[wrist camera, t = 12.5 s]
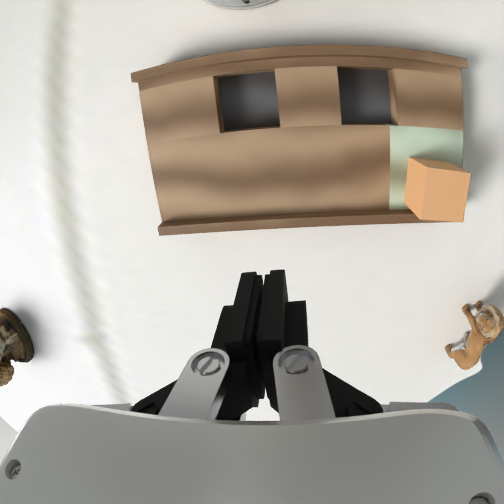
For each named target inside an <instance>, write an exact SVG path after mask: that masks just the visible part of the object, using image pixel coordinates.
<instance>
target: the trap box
mask: <svg viewBox="0 0 504 504" xmlns="http://www.w3.org/2000/svg"><path fill="white" fill-rule="evenodd" d="M461 68H467V59H466V58H461V57H456V56H451V55H445V54H439V53H433V52H427V51H420V50H412V49H403V48H393V47H381V46H365V45H296V46H280V47H267V48H257V49H248V50H240V51H232V52H226V53H219V54H213V55H207V56H201V57H196V58H191V59H186V60H181V61H177V62H172V63H168V64H164V65H160V66H156V67H152V68H148V69H144V70H140V71H137V72H133V73H131V79H132V82H138V84H139V92H140V100H141V107H142V114H143V121H144V127H145V133H146V140H147V146H148V151H149V157H150V163H151V168H152V174H153V179H154V184H155V189H156V194H157V199H158V204H159V209H160V214H161V218H162V223H161V224H160V225H159V226H158V232H159V236H162V235H177V234H192V233H207V232H223V231H240V230H258V229H277V228H297V227H318V226H342V225H367V224H397V223H433V222H449V221H435V220H420V219H419V218H418V217H417V216H416V215H415V214H414V213H413V212H412V211H411V210H410V209H409V208H408V207H407V206H406V205H405V204H404V195H405V187H406V178H407V168H408V157H413V158H422V159H430V160H437V161H444V162H449V163H451V164H453V165H455V166H457V167H459V168H461V169H462V162H463V93H462V77H461ZM463 220H464V217H463Z"/></svg>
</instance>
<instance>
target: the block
mask: <svg viewBox="0 0 504 504" xmlns="http://www.w3.org/2000/svg"><path fill="white" fill-rule="evenodd" d="M470 176H471V173H469V172H467V171H465V170H463V169H461V168H459V167H457V166H455V165H453V164H451V163H449V162H444V161H437V160H430V159H422V158H413V157H408V168H407V178H406V187H405V195H404V204H405V205H406V206H407V207H408V208H409V209H410V210H411V211H412V212H413V213H414V214H415V215H416V216H417V217H418V218H419V219H420V220H435V221H449V222H463V217H464V212H465V207H466V201H467V195H468V189H469V183H470Z"/></svg>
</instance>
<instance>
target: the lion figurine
mask: <svg viewBox="0 0 504 504" xmlns="http://www.w3.org/2000/svg"><path fill="white" fill-rule="evenodd" d="M481 307H482V302H481V301H479V302H477V303H476V309H477V313H476V316H475V317H474V316H473V315H472V313H471V311H470V309H469V306H468V305H465V306H464V307H462V310H463V312H464V314H465V315H466V316H467V318H468V320H469V323H470V325H471V327H472V330H471V332H467V333H465V335H464V348H465V350H455V351H452V352H451V349H452V346H451V345H447V346H446V348H445V350H446V352H447V354H448V356H449V357H450V358H454V359H455V361H456V363H457V364H458V366H459V367H460V368H462V369H464V370H467V369H470V368H471V367H473V366H474V365H475V364H476V363H477V362H478V361H479V358H480V356H481V353H482V351H483V349H484V347H485V345H486V344H490V343H492V342H493V341H494V339H496V338H498V336H499V335H500V334H501V332H502V330H503V329H504V317H503V315H502V313H501V311H500V310H498V309H497V308H496V307H495V306H493V305H490V304H489V305H487V306H485V307H484V308H481Z"/></svg>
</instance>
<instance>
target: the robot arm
mask: <svg viewBox="0 0 504 504" xmlns="http://www.w3.org/2000/svg"><path fill="white" fill-rule="evenodd" d="M204 1H206V2H208V3H209V4H212V5H215V6H217V7H222V8H227V9H239V10H240V9H251V8H256V7H260V6H264V5H266V4H269V3H271V2H274V1H275V0H204ZM246 1H249V2H250V3H248V4H246V3H245V2H246ZM265 387H266V392H267V397H268V399H269V400H270V405H271V407H272V408H273V409H274V410H276V411H277V412H278V413H279V416H280V421H245V420H246V411H248V410H249V409H251V408H252V407H258V404H259V399H264V395H265ZM0 504H504V462H503V459H502V457H501V454H500V452H499V449H498V446H497V444H496V442H495V440H494V438H493V436H492V434H491V432H490V431H489V429H488V428H487V427H486V425H485V424H484V423H483V422H482V421H481V420H479V419H478V418H476V417H475V416H472V415H470V414H467V413H464V412H459V411H458V410H457V408H456V407H455V406H453V405H451V404H449V403H443V402H439V403H416V402H390V403H389V405H382V404H379V403H378V402H377V401H376V400H375V399H373V398H372V397H370V396H368V395H366V394H365V393H363V392H361V391H359V390H358V389H356V388H354V387H353V386H351V385H349V384H348V383H346V382H344V381H343V380H341V379H339V378H338V377H336V376H334V375H333V374H331V373H329V372H328V371H326V370H325V369H323V368H322V366H321V362H320V359H319V356H318V354H317V352H316V351H314V350H313V349H312V348H310V347H308V328H307V312H306V300H305V301H293V302H288V294H287V285H286V277H285V270H284V269H283V270H271V271H270V274H267V275H265V280H264V285H263V279H262V275H257V273H256V272H246V273H242V274H241V278H240V281H239V285H238V289H237V293H236V297H235V301H234V305H230V306H224V307H223V309H222V312H221V315H220V319H219V322H218V325H217V329H216V332H215V335H214V339H213V342H212V345H211V348H208V349H204V350H201V351H199V352H197V353H195V354H194V355H193V356H191V358H190V359H189V360H188V362H187V364H186V366H185V367H184V369H183V371H182V373H181V375H180V376H179V378H178V380H176V381H174V382H172V383H171V384H169V385H167V386H165V387H164V388H162V389H160V390H158V391H156V392H155V393H153V394H151V395H149V396H147V397H146V398H144V399H142V400H140V401H139V402H137V403H136V404H135V405H134V406H132V405H131V404H130V403H129V404H113V405H83V404H56V405H50V406H46V407H43V408H40V409H38V410H37V411H35V412H34V413H33V414H32V415H31V416H30V417H29V418H28V420H27V421H26V422H25V424H24V425H23V426H22V428H21V429H20V431H19V432H18V434H17V436H16V437H15V439H14V441H13V442H12V444H11V446H10V448H9V450H8V451H7V453H6V455H5V457H4V459H3V461H2V463H1V465H0Z"/></svg>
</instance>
